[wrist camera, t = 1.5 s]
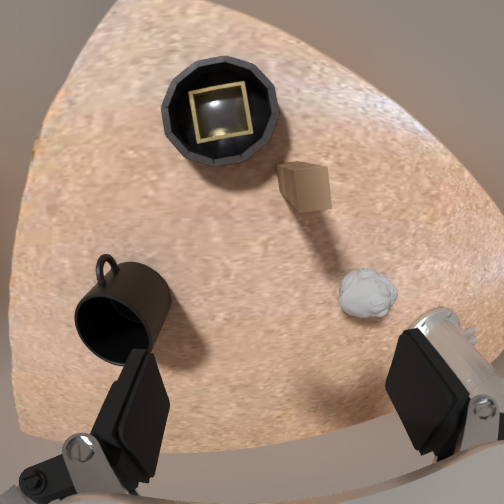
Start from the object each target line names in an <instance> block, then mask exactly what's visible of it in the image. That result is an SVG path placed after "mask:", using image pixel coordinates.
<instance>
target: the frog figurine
mask: <svg viewBox="0 0 504 504" xmlns="http://www.w3.org/2000/svg"><path fill="white" fill-rule="evenodd" d="M339 292H340V298H339V304H340V306H341V308H342V309H343V311H344V312H345V313H347V314H350V315H352V316H357V317H359V318H369V317H377V316H378V317H379V318H381V317H383V316H385V315H387V313H388V311H389V307H390V306H392V305H393V303H395V301H396V300H397V296H398V293H397V289H396V287H395V286H394V284H393V283H392V281H391V280H390V279H389V278H388V277H387V276H385V275H383V274H381V273H380V274H378V272H377V271H376V270H374V269H365V268H362V269H355V270H352V271H350V272H349V273H347V274H346V275H345V276H344V278H343V279H342V281H341V284H340V289H339Z"/></svg>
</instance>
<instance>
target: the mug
mask: <svg viewBox="0 0 504 504" xmlns="http://www.w3.org/2000/svg"><path fill="white" fill-rule="evenodd" d="M106 261H107V262H108V263H109V264H110V266H111V270H110V271H109V272H108V273H107V274H106V275H105V276H104V274H103V266H104V263H105V262H106ZM96 276H97V280H98V282H97V284H96V285H95V286H94V287H93V288H92V289H91V290H90V291H89V292H88V293H87V294H86V295H85V296H84V297H83V298H82V299H81V301H80V302H79V303H78V305H77V307H76V310H75V326H76V329H77V332H78V334H79V336H80V338H81V340H82V341H83V343H84V344H85V345H86V346H87V348H88V349H89V350H90V351H91V352H93V353H94V354H95V355H96V356H98V357H99V358H101V359H102V360H104V361H106V362H108V363H111V364H114V365H117V366H124V365H125V363H126V361H127V359H128V357H129V355H130V353H131V351H132V349H147V350H148V351H149V352H150V353H151V351H152V349H153V346H154V344H155V342H156V339H157V337H158V335H159V332H160V330H161V328H162V325H163V323H164V321H165V318H166V316H167V314H168V312H169V308H170V294H169V290H168V288H167V285H166V283H165V282H164V280H163V279H162V278H161V276H160V275H159V274H158V273H157V272H156V271H154V270H153V269H152V268H150V267H148V266H146V265H144V264H141V263H137V262H124V263H121V264H118V265H117V263H116V261H115V259H114V258H113V257H112V256H111V255H109V254H103V255H101V256H100V257H99V259H98V261H97V265H96Z"/></svg>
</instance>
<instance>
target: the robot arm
mask: <svg viewBox="0 0 504 504" xmlns="http://www.w3.org/2000/svg"><path fill="white" fill-rule="evenodd" d="M474 333H475V328H474V327H473V326H471V327H469V328H467V329H463V328H462V327H461V326H460V321H459V318H458V316H457V315H456V313H455V312H453V311H452V310H451V309H449V308H437V309H434V310H432V311H430V312H428V313H426V314H424V315H423V316H421V317H420V318H419V319H418V320H417V321H415V322H414V323H413V324H412V326H411V327H410V328H409V329H408V330H404V331H403V333H402V334H401V335H400V336H399V339H398V343H397V347H396V350H395V354H394V357H393V360H392V364H391V367H390V370H389V373H388V376H387V379H386V383H385V388H386V391H387V393H388V395H389V397H390V399H391V401H392V403H393V405H394V407H395V409H396V411H397V413H398V415H399V417H400V419H401V421H402V423H403V425H404V427H405V429H406V431H407V433H408V436H409V437H410V440H411V442H412V444H413V446H414V448H415V449H416V450H419V452H420V454H421V455H424V454H427V453H429V452H432V451H433V452H434V454H435V456H434V459H433V462H432V464H431V465H429V466H426V467H424V468H421V469H419V470H416V471H413V472H411V473H408V474H405V475H402V476H399V477H397V478H393V479H390V480H387V481H384V482H381V483H378V484H374V485H371V486H366V487H363V488H358V489H355V490H350V491H346V492H341V493H337V494H331V495H326V496H320V497H314V498H307V499H300V500H292V501H282V502H269V503H251V504H504V380H503V378H502V377H501V376H500V375H499V374H498V373H497V371H496V370H495V369H494V368H493V367H492V366H491V365H490V363H489V362H488V361H487V360H486V359H485V358H484V357H483V356H482V354H481V353H480V352H479V351H478V350H477V349H476V348H475V347H474V346H473V345H475V344H476V343H477V337H476V336H475V335H474ZM472 334H473V335H472ZM469 335H470V336H469ZM467 336H468V337H467ZM169 409H170V402H169V398H168V395H167V393H166V390H165V387H164V384H163V381H162V378H161V375H160V372H159V369H158V366H157V363H156V360H155V357H154V354H152V353H150V352H149V351H148V350H147V349H132V351H131V353H130V355H129V357H128V359H127V361H126V363H125V365H124V367H123V369H122V372H121V374H120V376H119V378H118V380H117V381H115V382H114V383H113V384H112V386H111V388H110V390H109V392H108V394H107V397H106V399H105V401H104V403H103V405H102V408H101V410H100V412H99V414H98V417H97V419H96V421H95V423H94V426H93V428H92V430H91V433H90V434H87V433H77V434H74V435H72V436H70V437H69V438H68V439H67V440H66V441H65V442H64V444H63V447H62V454H61V455H58V456H56V457H54V458H51V459H49V460H46V461H44V462H41V463H39V464H36V465H34V466H31V467H29V468H27V469H25V470H24V471H23V472H22V473H21V475H20V477H19V486H16V485H13V486H12V487H10V488H9V489H8V490H7V491H5V492H4V493H3V494H1V495H0V504H217V503H197V502H185V501H174V500H165V499H158V498H151V497H144V496H141V495H140V494H139V492H138V491H137V489H136V488H137V487H138V483H139V482H143V483H149V479H150V477H154V475H155V471H156V466H157V462H158V457H159V452H160V448H161V443H162V439H163V434H164V430H165V426H166V421H167V417H168V413H169Z"/></svg>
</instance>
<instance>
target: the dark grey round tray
mask: <svg viewBox="0 0 504 504" xmlns="http://www.w3.org/2000/svg"><path fill="white" fill-rule="evenodd" d="M161 107H162V108H161V113H162V119H163V125H164V131H165V135H166V137H167V138H168V139H169V141H170V142H171V143H172V144H173V145H174V146H175V147H176V149H177V150H178V151H179V152H180V153H181V154H182V155H183V157H185V158H188V159H191V160H194V161H197V162H200V163H203V164H206V165H209V166H211V167H216V166H221V165H227V164H232V163H238V162H243V161H245V160H246V159H248V158H249V157H250V156H251V155H253V154H254V153H255V152H257V151H258V150H259V149H260V148H262V147H263V146H264V145H266V144H267V143H268V142H269V139H270V137H271V134H272V132H273V129H274V127H275V125H276V122H277V120H278V117H279V109H278V103H277V97H276V92H275V86H274V85H273V84H272V83H271V82H270V80H269V79H268V78H267V77H266V76H265V75H264V74H263V73H262V72H261V71H260V70H259V68H258V67H257V66H256V65H254V64H252V63H249V62H246V61H243V60H239V59H236V58H233V57H229V56H226V57H225V56H219V57H214V58H209V59H204V60H199V61H196V62H194V63H193V64H191V65H190V66H189V67H187V68H186V69H185V70H184V71H182V72H181V73H180V74H179V75H178V76H176V77H175V78H174V79H173V80H172V81H171V83H170V86H169V88H168V90H167V93H166V95H165V98H164V100H163V103H162V105H161Z"/></svg>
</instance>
